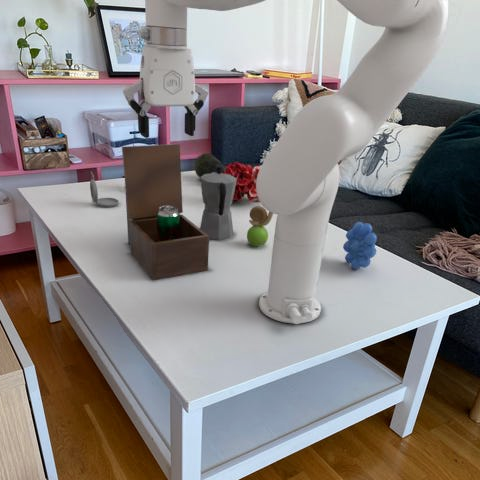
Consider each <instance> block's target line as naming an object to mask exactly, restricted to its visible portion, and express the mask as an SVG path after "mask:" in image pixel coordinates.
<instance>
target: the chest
mask: <svg viewBox="0 0 480 480" xmlns="http://www.w3.org/2000/svg"><path fill="white" fill-rule="evenodd" d="M129 231H130V245H129V247H130V255H131V257H133V259H134V260H135V261H136V262H137V263H138V264H139V266H140V267H141V268H142V269H143V271H144V272H145V273H146V274H147V275H148V276H149V277H150V278H151V280H152V281H156V280H162V279H168V278H173V277H179V276H185V275H190V274H191V275H192V274H196V273H201V272H202V273H203V272H207V271H209V251H210V239H209V236H208V235H207V234H206V233H205V232H203V231H202V230H201V229H200V227H198V226H197V225H196V224H194V222H192V221H191V220H190V219H188V218H187V217H186V216H185V215H183V213H180V239H174V240H167V241H160V242H157V217H155V218H147V219H138V220H130V221H129Z"/></svg>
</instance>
